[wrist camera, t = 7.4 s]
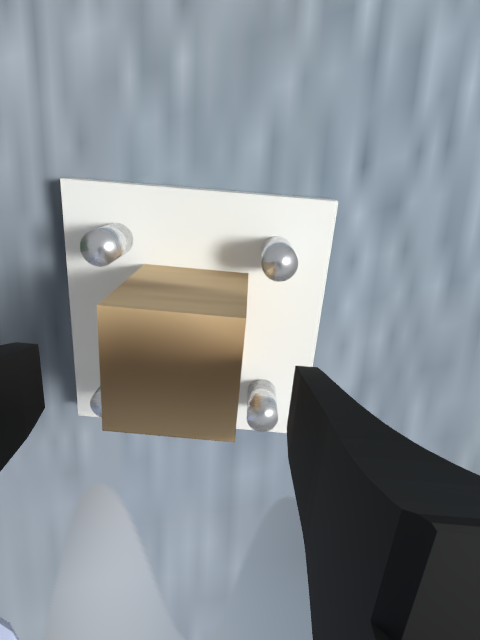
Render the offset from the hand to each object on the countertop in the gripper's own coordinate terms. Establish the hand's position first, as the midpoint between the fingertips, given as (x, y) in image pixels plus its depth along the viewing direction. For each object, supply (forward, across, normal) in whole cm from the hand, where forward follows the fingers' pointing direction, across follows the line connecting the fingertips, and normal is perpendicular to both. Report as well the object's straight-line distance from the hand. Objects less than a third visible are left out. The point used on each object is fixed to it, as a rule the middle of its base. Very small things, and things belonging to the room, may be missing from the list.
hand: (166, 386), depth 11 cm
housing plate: (+6, 0, 0) cm, 6 cm away
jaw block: (+5, 0, 0) cm, 5 cm away
